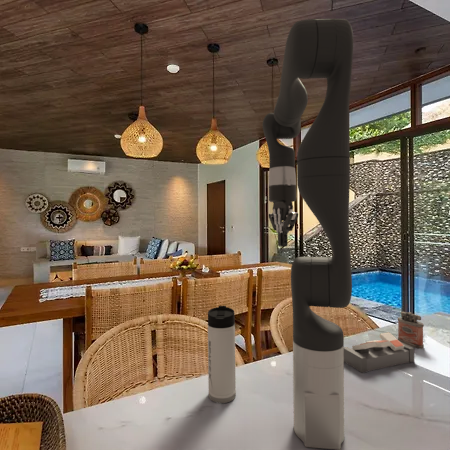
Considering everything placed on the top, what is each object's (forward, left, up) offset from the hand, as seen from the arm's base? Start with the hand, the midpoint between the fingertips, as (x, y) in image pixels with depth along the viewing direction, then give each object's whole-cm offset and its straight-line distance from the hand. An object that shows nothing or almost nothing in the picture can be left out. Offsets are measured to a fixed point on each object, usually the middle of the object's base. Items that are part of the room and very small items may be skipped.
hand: (282, 246), depth 87 cm
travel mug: (-18, +15, -33) cm, 41 cm away
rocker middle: (+4, -26, -28) cm, 39 cm away
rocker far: (+6, -31, -28) cm, 42 cm away
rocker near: (+2, -22, -28) cm, 36 cm away
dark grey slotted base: (+4, -26, -33) cm, 43 cm away
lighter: (+18, -41, -33) cm, 56 cm away
